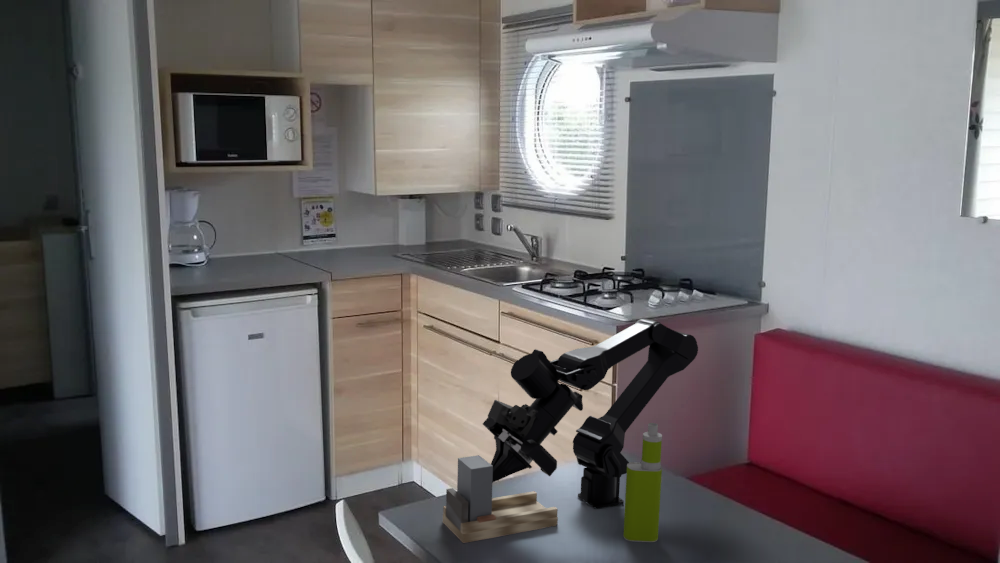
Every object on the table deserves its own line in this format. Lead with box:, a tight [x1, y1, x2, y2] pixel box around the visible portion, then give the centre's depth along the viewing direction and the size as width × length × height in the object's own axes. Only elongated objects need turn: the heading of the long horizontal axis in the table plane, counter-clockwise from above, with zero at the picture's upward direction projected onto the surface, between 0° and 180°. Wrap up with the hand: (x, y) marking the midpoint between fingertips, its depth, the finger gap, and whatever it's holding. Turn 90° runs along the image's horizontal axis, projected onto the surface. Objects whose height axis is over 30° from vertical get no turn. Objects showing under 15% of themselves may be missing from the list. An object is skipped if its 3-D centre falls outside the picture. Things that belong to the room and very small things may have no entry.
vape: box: [623, 422, 663, 543], centre depth 149 cm, size 4×6×20 cm, turn 88°
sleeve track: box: [442, 487, 559, 544], centre depth 153 cm, size 18×9×6 cm, turn 116°
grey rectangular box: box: [456, 454, 493, 522], centre depth 151 cm, size 4×6×10 cm
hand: (486, 481), depth 151 cm, fingers closed
